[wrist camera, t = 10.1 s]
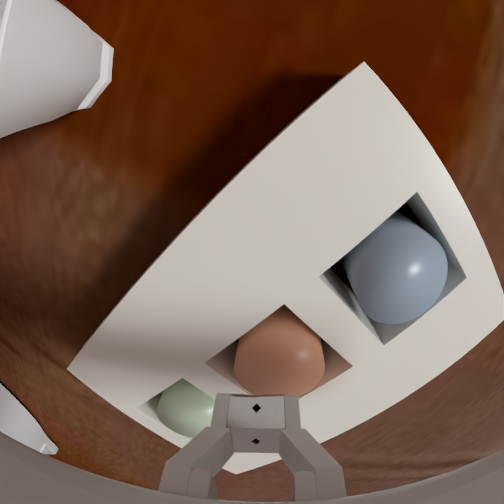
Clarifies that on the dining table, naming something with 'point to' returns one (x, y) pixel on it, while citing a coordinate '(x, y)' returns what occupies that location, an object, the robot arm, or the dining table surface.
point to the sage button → (185, 408)
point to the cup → (47, 63)
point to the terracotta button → (279, 356)
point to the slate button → (396, 271)
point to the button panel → (301, 273)
